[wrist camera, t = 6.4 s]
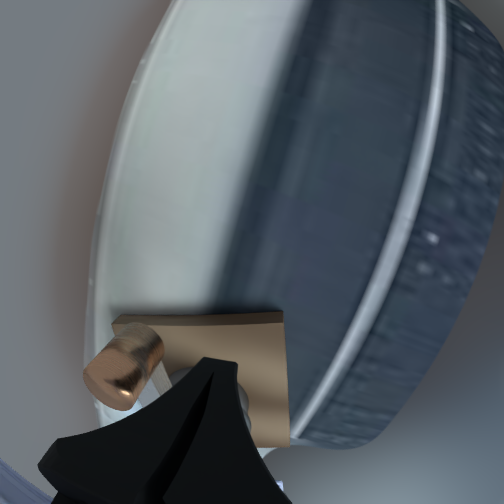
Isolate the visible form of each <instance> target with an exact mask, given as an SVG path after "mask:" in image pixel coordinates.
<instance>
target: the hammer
mask: <svg viewBox="0 0 504 504" xmlns="http://www.w3.org/2000/svg"><path fill="white" fill-rule="evenodd" d="M164 353H165V347H164V344H163V341H162V339H161V338H160V336H159V335H158V334H157V333H156V332H155V331H154V330H153V329H152V328H150V327H149V326H147V325H145V324H142V323H138V322H132V323H129V324H127V325H126V326H125V327H124V328H123V329H122V330H121V331H120V332H119V333H118V334H117V335H116V336H115V337H114V338H113V339H112V340H111V341H110V342H109V343H108V344H107V345H106V346H105V347H104V348H103V350H102V351H101V352H100V353H99V354H98V355H97V356H96V357H95V358H94V359H93V360H92V361H91V362H90V363H89V364H88V366H87V367H86V368H85V369H84V371H83V378H84V382H85V384H86V386H87V387H88V389H89V390H90V392H91V393H92V394H93V395H94V396H95V397H96V398H97V399H98V400H99V401H100V402H102V403H103V404H105V405H106V406H108V407H110V408H113V409H115V410H119V411H127V410H130V409H131V408H132V407H133V405H134V404H135V402H136V400H137V399H139V401H140V403H141V405H142V407H143V408H144V407H145V406H147V405H148V404H150V403H151V402H153V401H154V400H156V399H157V398H158V397H160V396H161V395H162V394H164V393H165V392H166V391H168V390H169V389H170V388H171V387H172V384H171V382H170V380H169V378H168V375H167V373H166V371H165V368H164V366H163V364H162V361H161V360H162V358H163V356H164Z"/></svg>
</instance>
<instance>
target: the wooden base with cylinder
mask: <svg viewBox="0 0 504 504" xmlns="http://www.w3.org/2000/svg"><path fill="white" fill-rule="evenodd" d="M132 322H138V323H142V324H145V325H147V326H149V327H150V328H152V329H153V330H154V331H155V332H156V333H157V334H158V335H159V336H160V338H161V339H162V341H163V344H164V347H165V353H164V356H163V358H162V360H161V361H162V364H163V366H164V368H165V371H166V373H167V375H168V378H169V380H170V382H171V384H172V387H173V386H174V385H175V384H176V383H177V382H178V381H179V380H180V379H182V378H183V377H184V376H185V375H186V374H187V373H188V372H189V371H190V370H191V369H192V368H193V367H194V366H195V365H196V364H197V363H198V362H199V361H200V359H201V358H203V357H209V358H215V359H221V360H227V361H233V362H236V363H237V364H238V373H237V383H238V391H239V397H240V402H241V406H242V410H243V414H244V417H245V420H246V423H247V426H248V429H249V432H250V434H251V437H252V439H253V442H254V444H255V446H256V448H274V447H290V421H289V399H288V379H287V362H286V345H285V330H284V316H283V311H279V312H263V313H243V314H218V315H120V316H119V317H118V318H117V319H116V320H115V321H114V322H113V323H112V324H111V325H112V328H113V331H114V334H115V336H116V335H117V334H118V333H119V332H120V331H121V330H122V329H123V328H124V327H125V326H126V325H127V324H129V323H132Z"/></svg>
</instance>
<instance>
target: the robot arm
mask: <svg viewBox="0 0 504 504" xmlns="http://www.w3.org/2000/svg"><path fill="white" fill-rule="evenodd" d="M237 373H238V364H237V363H236V362H233V361H227V360H221V359H215V358H209V357H203V358H201V359H200V361H199V362H198V363H197V364H196V365H195V366H194V367H193V368H192V369H191V370H190V371H189V372H188V373H187V374H186V375H185V376H184V377H183V378H182V379H180V380H179V381H178V382H177V383H176V384H175V385H174V386H173V387H171V388H170V389H169V390H168V391H166V392H165V393H164V394H162V395H161V396H160V397H158V398H157V399H156V400H154V401H153V402H151V403H150V404H148V405H147V406H145V407H144V408H142V409H140V410H139V411H137V412H135V413H133V414H131V415H129V416H127V417H126V418H124V419H122V420H119V421H117V422H115V423H113V424H110V425H107V426H105V427H102V428H99V429H96V430H94V431H90V432H87V433H83V434H79V435H74V436H70V437H65V438H58V439H57V440H56V441H55V442H54V443H53V444H52V445H51V447H50V448H49V449H48V451H47V452H46V453H45V455H44V456H43V458H42V459H41V460H40V462H39V463H38V468H39V471H40V472H41V473H42V475H43V476H44V477H45V478H46V479H47V480H48V481H49V482H50V484H51V485H52V486H53V487H54V488H55V489H56V490H57V491H58V493H57V494H56V496H55V497H54V499H53V498H52V497H50V496H49V495H47V494H45V493H44V492H43V491H41V490H40V489H38V488H37V487H36V486H34V485H33V484H31V483H30V482H29V481H27V480H26V479H25V478H23V477H22V476H21V475H20V474H18V473H17V472H16V471H14V470H13V469H12V468H11V467H10V466H9V465H7V464H6V463H5V462H4V461H3V460H2V459H1V458H0V504H292V502H291V501H290V500H289V499H288V497H287V496H286V495H285V494H284V493H283V483H282V481H280V480H274V478H273V477H272V475H271V474H270V472H269V470H268V469H267V467H266V465H265V463H264V462H263V460H262V458H261V456H260V454H259V452H258V450H257V448H256V446H255V444H254V442H253V439H252V437H251V434H250V432H249V429H248V426H247V423H246V420H245V417H244V414H243V410H242V406H241V402H240V397H239V391H238V383H237Z"/></svg>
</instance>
